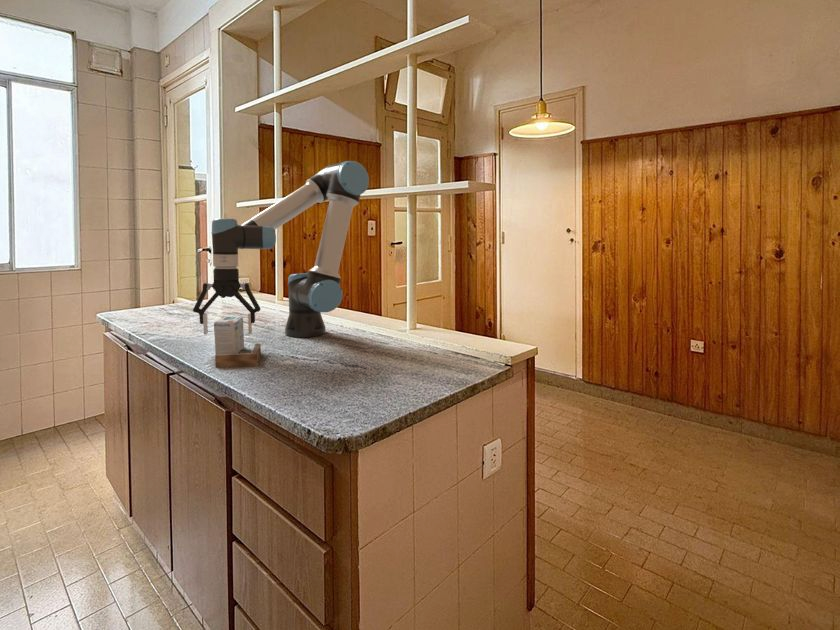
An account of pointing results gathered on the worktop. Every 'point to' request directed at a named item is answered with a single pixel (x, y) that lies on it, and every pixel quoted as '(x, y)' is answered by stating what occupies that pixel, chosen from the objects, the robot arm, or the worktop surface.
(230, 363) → the walnut corner fence
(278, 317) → the worktop surface
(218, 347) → the light bulb box
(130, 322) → the worktop surface
